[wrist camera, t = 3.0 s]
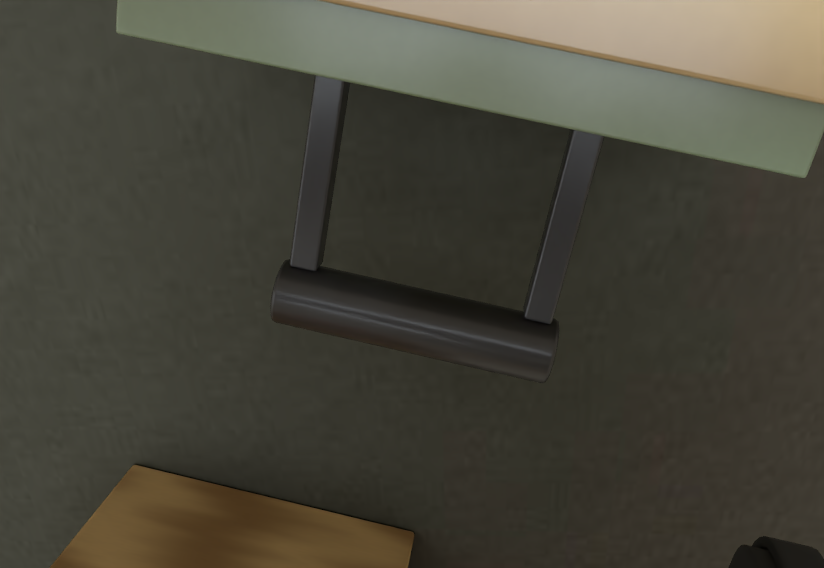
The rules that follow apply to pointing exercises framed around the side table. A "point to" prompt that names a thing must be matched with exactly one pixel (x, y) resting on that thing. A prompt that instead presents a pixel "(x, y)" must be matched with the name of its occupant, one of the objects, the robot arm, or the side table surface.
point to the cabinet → (654, 34)
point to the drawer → (483, 90)
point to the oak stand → (223, 530)
